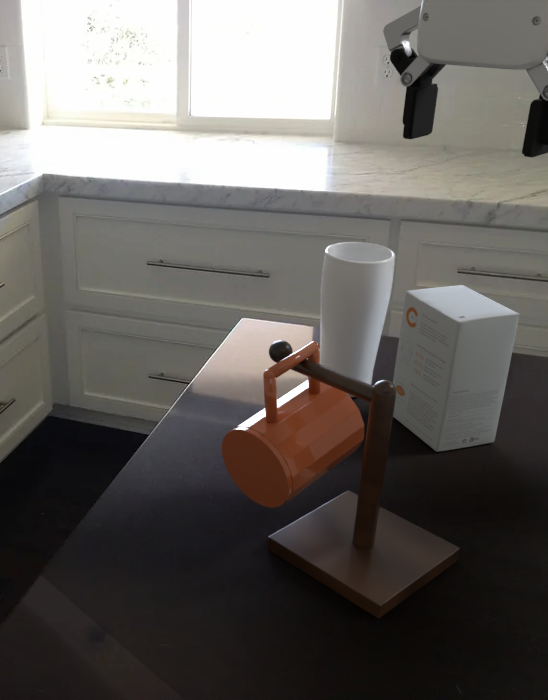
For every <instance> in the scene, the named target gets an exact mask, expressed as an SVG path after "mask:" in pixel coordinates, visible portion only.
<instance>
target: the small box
mask: <svg viewBox="0 0 548 700" xmlns="http://www.w3.org/2000/svg"><path fill="white" fill-rule="evenodd" d="M519 319H520V313H519V312H516V311H515V310H513V309H510V308H508V307H506V306H505V305H503V304H501V303H498V302H497V301H494V300H493V299H491V298H489V297H486V296H485V295H483V294H481V293H480V292H477V291H475V290H473V289H471V288H469V287H468V286H466V285H463V284H458V285H449V286H439V287H429V288H421V289H409V290H406V291H405V296H404V303H403V309H402V318H401V323H400V329H399V330H400V331H399V339H398V343H397V351H396V357H395V364H394V371H393V378H392V383H393V384H394V385H395V387H396V399H395V406H394V413H393V418H394V419H395V420H396V421H398V422H399V423H401V425H403V426H404V427H405V428H406V429H408V430H409V431H410V432H411V433H413V434H414V435H415V436H416V437H417V438H418V439H420V440H421V441H423V442H424V443H425V444H426V445H427V446H428V447H430V448H431V449H432V450H433V451H434V452H437V453H439V452H446V451H450V450H451V451H452V450H457V449H463V448H470V447H476V446H482V445H486V444H492V443H495V441H496V435H497V431H498V426H499V420H500V417H501V412H502V411H501V410H502V405H503V402H504V397H505V396H504V395H505V391H506V385H507V381H508V375H509V371H510V367H511V366H510V365H511V360H512V355H513V350H514V346H515V340H516V336H517V331H518V325H519Z"/></svg>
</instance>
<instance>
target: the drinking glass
mask: <svg viewBox="0 0 548 700" xmlns="http://www.w3.org/2000/svg"><path fill="white" fill-rule="evenodd" d="M323 255H324V257H323V263H322V270H321V280H320V294H319V296H320V298H319V300H320V301H319V302H320V303H319V304H320V305H319V307H320V308H319V310H320V311H319V327H320V328H319V346H320V364H321V365H323V366H326V367H328V368H331V369H333V370H336V371H338V372H341V373H343V374H346V375H348V376H350V377H353V378H355V379H358V380H360V381H363V382H365V383H368V384H370V385H372V383H373V376H374V375H373V374H374V370H375V364H376V362H377V361H376V360H377V355H378V351H379V347H380V342H381V338H382V334H383V329H384V326H385V322H386V316H387V313H388V308H389V304H390V301H391V295H392V290H393V283H394V275H395V263H396V253H395V252H394V250H392V249H391V248H388V247H386V246H384V245H381V244H376V243H370V242H365V241H364V242H363V241H343V242H337V243H336V242H335V243H333V244H330V245H328V246H327V247H326V248H325V250H324V254H323ZM347 394H348V393H347ZM348 395H349V396H350V397H351V398H356V397H355V396H353V395H350V394H348Z"/></svg>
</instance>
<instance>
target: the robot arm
mask: <svg viewBox="0 0 548 700" xmlns="http://www.w3.org/2000/svg"><path fill="white" fill-rule="evenodd" d="M416 30H417V34H416V51H417V53H416V51H415V50H414V48H413V47H411V40H410V35H411V33H413V32H414V31H416ZM382 31H383V36H384V40H385V43H386V44H387V49H388V51H389V52H390V55H389V60H390V62H391V64H392V65H393V67H394V68H395V70H396V72H397V73H398V75H399V76H400V78H399V82H400V84H401V85H402V87H405V88H406V89H405V96H404V103H403V112H402V125H403V130H402V137H403V139H405V140H414V139H418V138H422V137H426V136H429V135H431V134H432V133H433V130H434V122H435V116H436V115H435V114H436V107H437V101H438V93H439V87H438V83H433V79H434V78H436V76H437V75H438V74H440V72H441V71H442V70H443V69H444V68H445V67H446V65H448V66H459V67H473V68H485V69H498V70H499V69H500V70H516V71H517V70H519V71H521V70H522V71H523V70H525V71H526V73H527V75H528V77H529V78H530V80H531V81H532V83H533V85H534V86H535V89H536V90H537V91H538V93H539V96H538V98H537V99H533V100H532V101H531V103H530V105H529V111H528V116H527V121H526V127H525V132H524V138H523V144H522V150H521V154H522V155H523V157H526V158H535V157H540V156H542V155H545V154H548V0H421V5H420V6H418V7H416V8H414V9H412V10H411V11H409V12H407V13H405V14H404V15H402V16H400V17H398V18H396V19H394V20H392V21H391V22H389V23H387V24H385V25H384V27H383V30H382Z"/></svg>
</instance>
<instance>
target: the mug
mask: <svg viewBox="0 0 548 700" xmlns="http://www.w3.org/2000/svg"><path fill="white" fill-rule="evenodd" d="M305 359H308V360H311V361H313V362H316V363H318V364H320V343H319V342H318V341H315V340H313V341H309V342H308V343H306V344H305V345H303V346H302V347H300V348H298V349H297V350H296V351H293V353H292V354H291V355H289V356H287V357H286V358H284V359H283V360H281V361H280V362H278V363H276V362H275V364H273V365H272V366H270V367H268V368H267V369H265V370H264V372H263V373H262V374H263V375H262V378H263V397H264V408H262V409H260V410H259V411H258V412H256V413H255V414H253V415H252V416H250V417H248V418H247V419H246V420H244V421H243V422H241V423H240V424H238V425H237V426H235V427H233V428H232V429H231V430H229V431H228V432H226V433H225V435H224V436H223V439H222V442H221V456H222V460H223V464H224V467H225V468H226V471H227V473H228V475H229V477H230V478H231V480H232V481H233V482H234V484H235V485H236V487H237V488H238V489H239V490H240V491H241V492H242V493H243V495H245V496H246V497H247V498H249V499H250V500H251V501H253V502H254V503H256V504H258V505H260V506H262V507H266V508H269V509H270V508H271V509H272V508H273V509H274V508H275V509H276V508H279V507H281V506H282V505H285V503H288V502H289V501H291V500H292V499H293V498H295V497H296V496H297V495H299V494H300V493H301V492H303V491H304V490H305V489H307V488H308V487H310V486H311V485H312V484H313V483H314V482H317V480H318V479H320V478H321V477H323V476H324V475H325V474H327V473H328V472H329V471H330V470H332V469H333V468H334V467H336V466H338V465H339V464H340V463H341V462H342V461H344V460H345V459H346V458H348V457H349V456H351V455H352V454H353V453H354V452H356V451H358V449H360V447H361V445H362V443H363V441H364V440H365V422H364V419H363V417H362V414H361V411H360V408H359V407H358V406H357V404H356V403H355V401H354V400H353V399H352V397H350V396H349V395H348V394H347V393H346V392H343V391H341V390H338V389H336V388H334V387H331V386H329V385H327V384H324V383H322V382H319V381H317V380H315V379H312V378H310V377H308V376H307V380H304V381H303V382H301V383H300V384H298V385H296V386H295V387H294V388H292V389H291V390H289V391H288V392H287V393H285V394H284V395H282V396H280V397H279V398H278V393H277V389H278V388H277V379H278V378H279V377H280V376H283V375H284V374H285V373H287V372H288V371H290V370H291V368H293V367H295V366H296V365H298V364H299V363H301V362H302V361H304V360H305Z"/></svg>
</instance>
